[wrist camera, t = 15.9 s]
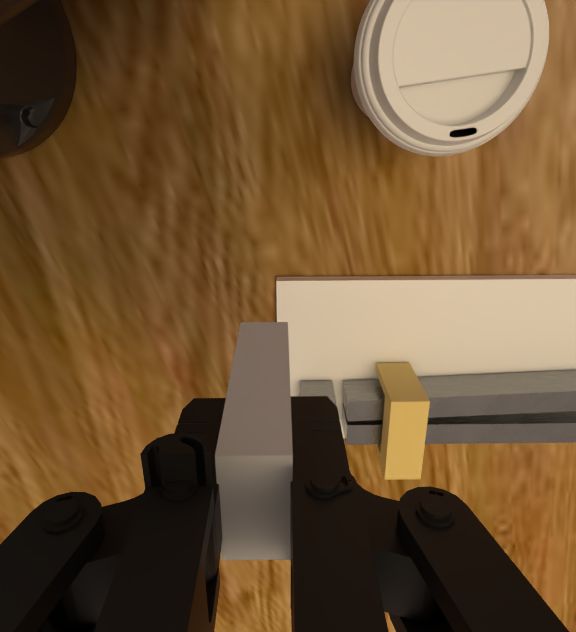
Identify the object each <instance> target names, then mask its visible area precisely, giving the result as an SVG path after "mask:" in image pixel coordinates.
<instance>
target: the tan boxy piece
mask: <svg viewBox="0 0 576 632" xmlns="http://www.w3.org/2000/svg"><path fill="white" fill-rule="evenodd" d="M376 373H377V376H378V378H379V381H380V384H381V386H382V389H383V392H384V394H385V403H384V415H383V427H382V440H381V444H375V448H376V451H377V455H378V458H379V462H380V465H381V469H382V472H383V476H384V479H421V471H422V463H423V454H424V446H425V438H426V430H427V422H428V413H429V405H430V401H429V399H428V397H427V395H426V393H425V391H424V389H423V387H422V385H421V383H420V382H419V380H418V378H417V376H416V374H415V372H414V370H413V368H412V366H411V364H410V363H376Z"/></svg>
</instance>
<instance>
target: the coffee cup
mask: <svg viewBox="0 0 576 632" xmlns="http://www.w3.org/2000/svg"><path fill="white" fill-rule="evenodd" d="M548 43H549V21H548V14H547V9H546V5H545V2H544V0H370V1H369V3H368V5H367V7H366V9H365V11H364V13H363V16H362V19H361V21H360V25H359V28H358V32H357V36H356V41H355V49H354V63H353V67H352V72H351V88H352V93H353V97H354V99H355V101H356V103H357V105H358V107H359V108H360V110H361V111H362V112H363V113H364V114H365V115H366V116H367V117H369V118H370V120H371V121H372V123H373V124H374V125H375V127H376V128H377V129H378V130H379V131H380V132H381V133H382V134H383V135H384V136H385V137H386V138H387V139H389V140H390V141H391V142H393V143H394V144H396V145H398V146H399V147H401V148H403V149H405V150H408V151H410V152H413V153H417V154H421V155H426V156H450V155H455V154H460V153H463V152H466V151H469V150H472V149H474V148H476V147H478V146H480V145H482V144H484V143H486V142H487V141H489V140H491V139H492V138H494V137H495V136H496V135H498V134H499V133H500V132H502V131H503V130H504V129H505V128H506V127H507V126H509V125H510V124H511V123H512V122H513V121H514V119H515V118H516V117H517V116H518V115H519V114H520V112H521V111H522V110H523V108H524V107H525V106H526V104H527V103H528V101H529V99H530V98H531V96H532V94H533V92H534V90H535V88H536V86H537V84H538V82H539V79H540V77H541V74H542V71H543V68H544V64H545V60H546V55H547V50H548Z"/></svg>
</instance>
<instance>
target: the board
mask: <svg viewBox="0 0 576 632" xmlns="http://www.w3.org/2000/svg"><path fill="white" fill-rule="evenodd" d="M276 292H277V322H288V339H289V367H290V394H291V396H299V394H300V381H333V387H334V392H335V397H336V406H337V409H338V414H339V419H340V424H341V429H342V434H343V438H345V437H344V432H343V426H342V403H344V402H343V381H351V380H373V379H379V378H378V376H377V373H376V363H410V364H411V366H412V368H413V370H414V372H415V374H416V376H417V377H438V376H460V375H482V374H503V373H525V372H547V371H569V370H576V275H463V276H316V277H276Z"/></svg>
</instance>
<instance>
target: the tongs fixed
mask: <svg viewBox="0 0 576 632" xmlns="http://www.w3.org/2000/svg"><path fill="white" fill-rule="evenodd" d="M299 396H328V398H329V399H330V400H331V401H332V402H333V403H334V404H335V405H336V397H335V392H334V387H333V381H300V394H299ZM342 426H343V432H344V437H345V442H346V445H348V444H381V440H382V427H383V420H368V421H347V416H346V411H345V407H344V403H342ZM557 442H576V411H567V412H544V413H522V414H500V415H478V416H456V417H434V418H428V422H427V430H426V438H425V444H453V443H557Z"/></svg>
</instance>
